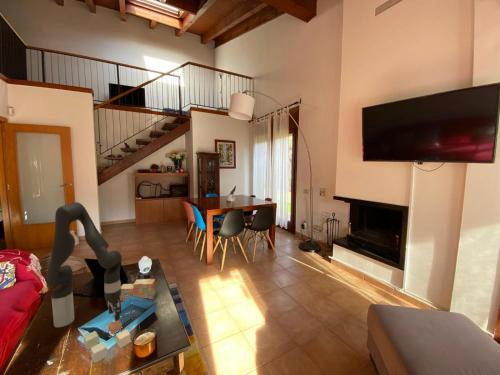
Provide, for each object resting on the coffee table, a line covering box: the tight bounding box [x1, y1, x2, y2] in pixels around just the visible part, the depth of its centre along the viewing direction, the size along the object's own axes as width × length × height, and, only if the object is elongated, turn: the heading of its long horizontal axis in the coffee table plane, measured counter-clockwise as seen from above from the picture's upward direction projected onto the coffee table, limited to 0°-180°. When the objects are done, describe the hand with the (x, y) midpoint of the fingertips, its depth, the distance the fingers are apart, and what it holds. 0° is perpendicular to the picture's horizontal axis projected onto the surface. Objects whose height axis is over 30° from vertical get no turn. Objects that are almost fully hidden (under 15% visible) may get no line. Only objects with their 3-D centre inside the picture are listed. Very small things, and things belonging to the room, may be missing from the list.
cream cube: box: [115, 328, 131, 349], centre depth 114 cm, size 5×5×5 cm
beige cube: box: [90, 341, 108, 364], centre depth 106 cm, size 5×5×5 cm
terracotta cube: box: [107, 319, 123, 334], centre depth 121 cm, size 5×5×5 cm
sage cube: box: [83, 330, 100, 351], centre depth 113 cm, size 5×5×5 cm
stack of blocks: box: [119, 278, 156, 302], centre depth 152 cm, size 21×6×12 cm, turn 96°
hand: (114, 316), depth 120 cm, fingers open, 8 cm apart
